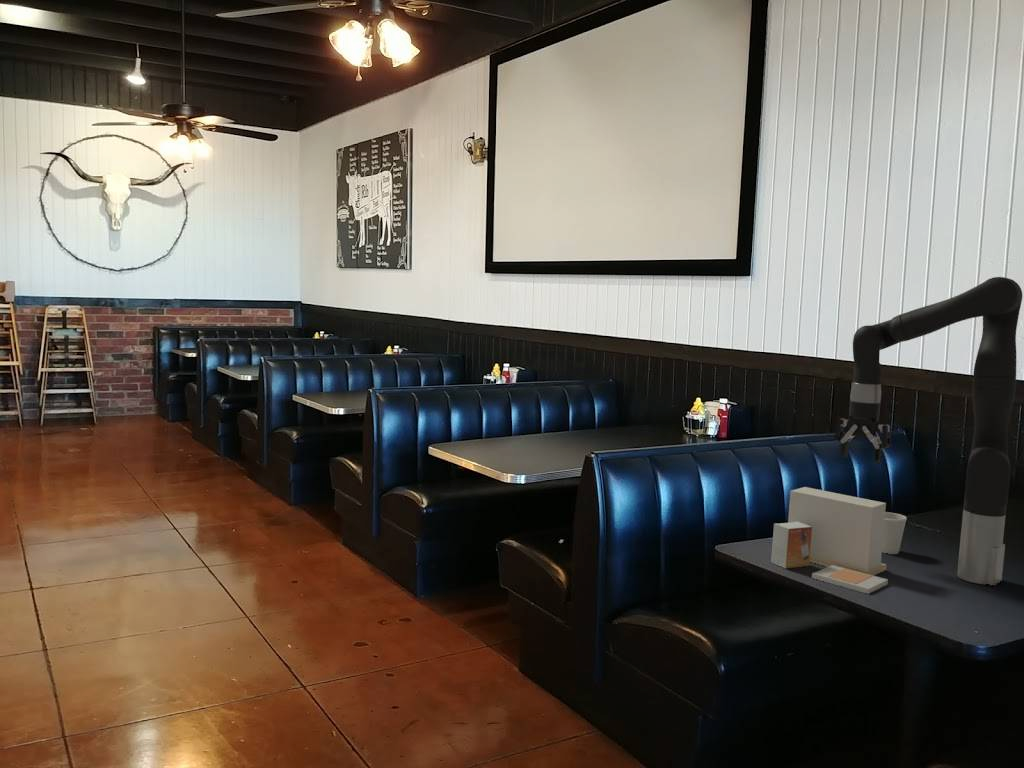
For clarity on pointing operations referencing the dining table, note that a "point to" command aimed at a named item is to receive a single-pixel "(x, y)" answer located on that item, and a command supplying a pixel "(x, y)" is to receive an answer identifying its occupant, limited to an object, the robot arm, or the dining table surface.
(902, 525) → the dixie cup
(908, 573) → the dining table surface
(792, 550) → the small box
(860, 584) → the pad
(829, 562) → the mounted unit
